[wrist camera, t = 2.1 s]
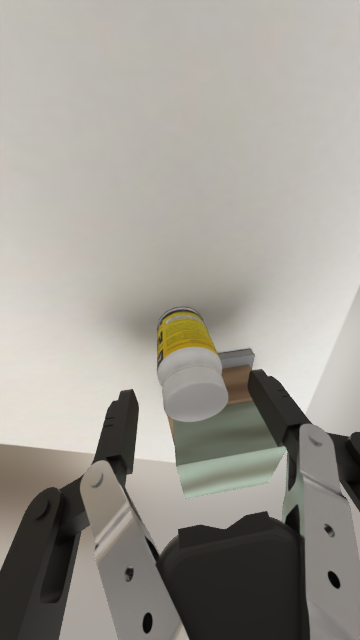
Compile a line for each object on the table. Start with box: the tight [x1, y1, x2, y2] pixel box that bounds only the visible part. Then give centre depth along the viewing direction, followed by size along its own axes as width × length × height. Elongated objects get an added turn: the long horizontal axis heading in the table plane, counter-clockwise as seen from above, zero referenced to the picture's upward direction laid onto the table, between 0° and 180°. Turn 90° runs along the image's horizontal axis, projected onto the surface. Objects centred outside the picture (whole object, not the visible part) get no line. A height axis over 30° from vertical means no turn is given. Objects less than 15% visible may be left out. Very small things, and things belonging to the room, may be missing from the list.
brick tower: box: [167, 365, 287, 499], centre depth 19 cm, size 10×10×8 cm
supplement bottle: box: [157, 307, 228, 422], centre depth 14 cm, size 5×5×8 cm
